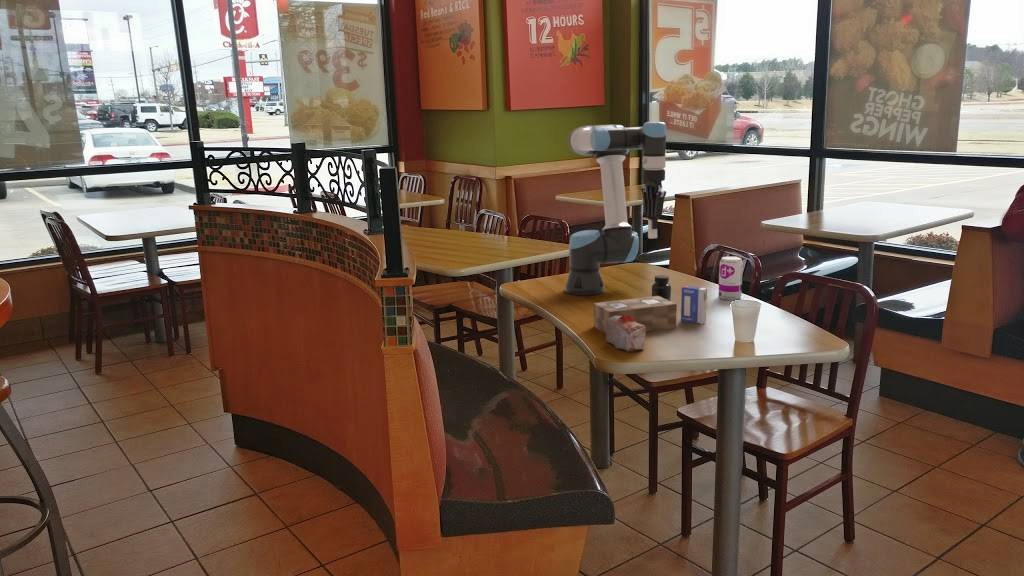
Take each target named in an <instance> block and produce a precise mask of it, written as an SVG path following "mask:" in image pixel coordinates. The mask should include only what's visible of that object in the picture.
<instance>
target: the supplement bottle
mask: <svg viewBox="0 0 1024 576" xmlns="http://www.w3.org/2000/svg"><path fill="white" fill-rule="evenodd" d="M669 280H670V279H669V276H667V275H662V274H659V275H655V276H654V280H653V281H654V282H655V283H653V284H652V285H651V294H650V297H652V296H660V297H662V298H664V299H666V300H669V301H671V300H672V285H671V284H670V283H669V282H670V281H669ZM671 302H672V301H671Z"/></svg>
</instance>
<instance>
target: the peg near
mask: <svg viewBox="0 0 1024 576" xmlns="http://www.w3.org/2000/svg"><path fill="white" fill-rule="evenodd" d="M608 305H609V306H611V307H613V308H623V307H629V306H627V305H625V304H623V303H617V304H608Z"/></svg>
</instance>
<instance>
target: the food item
mask: <svg viewBox="0 0 1024 576" xmlns="http://www.w3.org/2000/svg"><path fill="white" fill-rule="evenodd" d="M634 321H635V319H634V318H633V317H632V316H626V315H624V316H613V317H610V318H608V319H607V320H606V322H607V323H606V334H605V342H606V343H608V344H612V345H613V346H614V347H615V349H622V350H623V351H626V352H627V353H628V352H639V351H643V350H645V341H646V340H645V339H646V332H647V331H646V327H645V325H641V324H639V323H637V322H634ZM645 331H646V332H645ZM638 350H639V351H638Z"/></svg>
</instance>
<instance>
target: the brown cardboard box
mask: <svg viewBox="0 0 1024 576" xmlns="http://www.w3.org/2000/svg"><path fill="white" fill-rule="evenodd" d="M651 299H655V300H657V301H659V302H661V303H657V304H646V303H643V302H641V301H643V300H651ZM617 303H623V304H625V305H627V306H629V307H623V308H613V307H611V306H609V305H608V304H617ZM677 308H678V307H677V303H675V302H673V301H669V300H666V299H664V298H662V297H660V296H652V297H651V296H646V297H635V298H629V299H619V300H611V301H610V300H608V301H602V302H593V328H596V329H597V330H599V331H600V332H602V333H603V334H605V335H606V323H607V322H606V320H607V319H608V318H610V317H613V316H624V315H626V316H632V317H633V318H634V319H635V321H634V322H637V323H639V324H641V325H645V327H646V331H645V333H646V332H653V331H654V332H655V331H660V330H667V329H668V328H669V329H676V328H677V310H678V309H677ZM669 329H668V330H669Z"/></svg>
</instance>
